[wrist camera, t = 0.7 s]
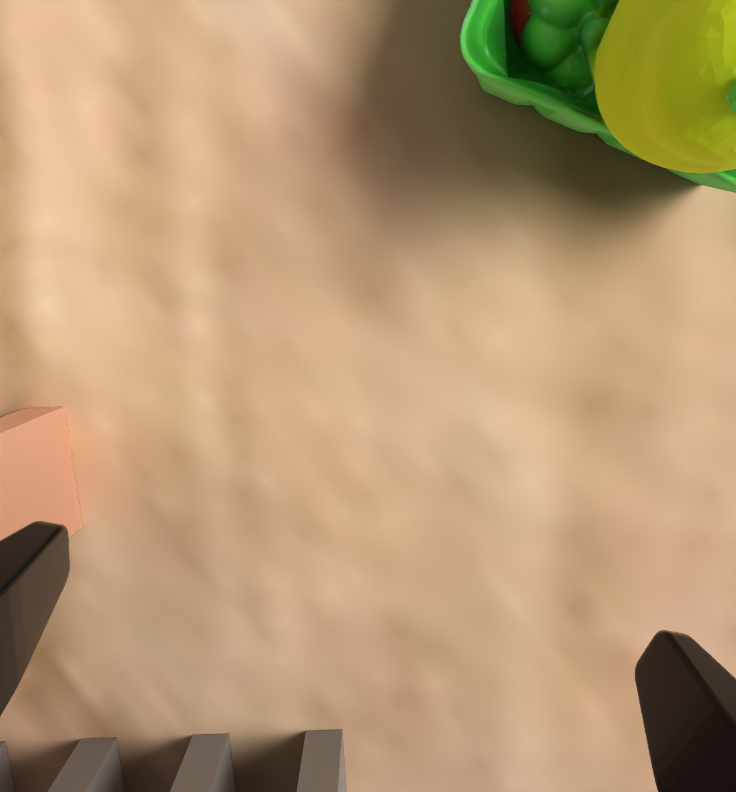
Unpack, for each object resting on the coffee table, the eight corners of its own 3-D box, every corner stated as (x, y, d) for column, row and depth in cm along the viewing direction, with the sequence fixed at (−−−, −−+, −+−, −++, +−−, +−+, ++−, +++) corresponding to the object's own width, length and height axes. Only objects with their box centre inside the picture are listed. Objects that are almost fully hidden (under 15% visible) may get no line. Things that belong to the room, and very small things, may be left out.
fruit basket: (827, 17, 20) (1370, -293, 9) (703, 265, 22) (1036, 255, 11) (521, -121, 20) (709, -639, 8) (417, 145, 21) (462, 4, 10)
